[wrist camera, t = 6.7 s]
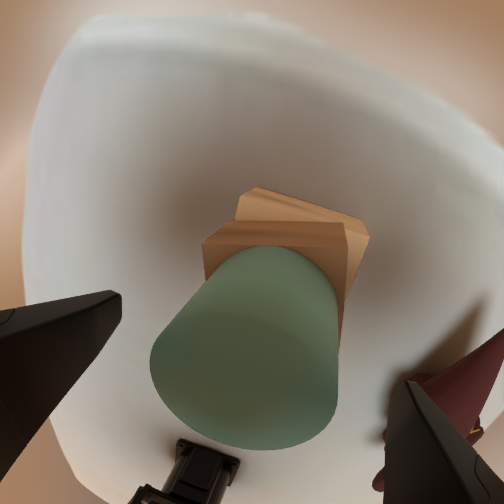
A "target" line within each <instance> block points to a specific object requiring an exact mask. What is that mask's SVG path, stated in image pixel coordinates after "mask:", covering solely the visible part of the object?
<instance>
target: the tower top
mask: <svg viewBox="0 0 504 504" xmlns="http://www.w3.org/2000/svg"><path fill="white" fill-rule="evenodd" d="M268 245H270V246H279V247H284V248H288V249H291V250H294V251H296V252H299V253H301V254H302V255H304V256H306V257H308V258H309V259H311V260H312V261H313V262H315V263H316V264H317V265H318V266H319V267H320V268H321V269H322V270H323V271H324V273H325V274H326V275H327V277H328V278H329V280H330V281H331V283H332V286H333V288H334V290H335V294H336V297H337V305H338V354H339V346H340V338H341V329H342V320H343V311H344V300H345V289H346V276H347V262H348V244H347V239H346V234H345V229H344V224H343V223H338V222H300V221H230V222H228V223H227V224H226V225H225V226H223V227H222V228H221V229H219V230H218V231H217V232H216V233H214V234H213V235H212V236H211V237H209V238H208V239H207V240H206V241H204V242H203V243H202V249H203V260H204V269H205V279H206V281H207V280H208V279H209V277H210V276H211V275H212V274H213V273H214V272H215V271H216V269H217V268H218V267H219V266H220V265H221V264H222V263H223V262H224V261H225V260H226V259H227V258H228V257H230V256H232V255H233V254H235V253H237V252H239V251H241V250H243V249H247V248H250V247H255V246H268Z"/></svg>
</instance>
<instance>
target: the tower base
mask: <svg viewBox="0 0 504 504" xmlns="http://www.w3.org/2000/svg"><path fill="white" fill-rule="evenodd" d="M234 221H300V222H338V223H343V224H344V229H345V234H346V239H347V244H348V262H347V276H346V289H345V299H346V297H347V295H348V292H349V290H350V287H351V285H352V283H353V280H354V278H355V275H356V273H357V270H358V268H359V265H360V263H361V260H362V258H363V255H364V253H365V250H366V247H367V245H368V242H369V239H370V236H369V234H368V231H367V229H366V227H365V225H364V223H363V221H362V220H360V219H357V218H354V217H351V216H348V215H345V214H342V213H339V212H336V211H333V210H330V209H327V208H324V207H321V206H317V205H314V204H311V203H308V202H305V201H302V200H298V199H295V198H292V197H289V196H285V195H282V194H279V193H275V192H272V191H268V190H265V189H262V188H258V187H255V188H253V189H251V190H249V191H248V192H246V193H244V194H243V195H241V196H240V198H239V202H238V206H237V210H236V215H235V219H234ZM344 302H345V300H344Z"/></svg>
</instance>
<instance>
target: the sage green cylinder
mask: <svg viewBox="0 0 504 504" xmlns="http://www.w3.org/2000/svg"><path fill="white" fill-rule="evenodd" d="M150 372H151V376H152V380H153V383H154V386H155V388H156V390H157V392H158V394H159V396H160V397H161V399H162V400H163V402H164V403H165V404H166V405H167V407H168V408H169V409H170V410H171V411H172V412H173V413H174V414H175V415H176V416H177V417H178V418H179V419H180V420H181V421H183V422H184V423H185V424H186V425H188V426H189V427H191V428H192V429H194V430H195V431H197V432H199V433H200V434H202V435H204V436H206V437H208V438H210V439H212V440H215V441H217V442H220V443H223V444H226V445H229V446H233V447H238V448H242V449H250V450H277V449H284V448H288V447H293V446H296V445H298V444H301V443H304V442H306V441H308V440H310V439H311V438H313V437H314V436H316V435H317V434H319V433H320V432H321V431H322V430H323V429H324V428H325V427H326V426H327V425H328V423H329V422H330V421H331V419H332V417H333V415H334V413H335V409H336V406H337V398H338V305H337V297H336V294H335V290H334V288H333V286H332V283H331V281H330V280H329V278H328V277H327V275H326V274H325V273H324V271H323V270H322V269H321V268H320V267H319V266H318V265H317V264H316V263H315V262H313V261H312V260H311V259H309V258H308V257H306V256H304V255H302V254H301V253H299V252H296V251H294V250H291V249H288V248H284V247H279V246H270V245H268V246H255V247H250V248H247V249H243V250H241V251H239V252H237V253H235V254H233V255H232V256H230V257H228V258H227V259H226V260H225V261H224V262H223V263H222V264H221V265H220V266H219V267H218V268H217V269H216V271H215V272H214V273H213V274H212V275H211V276H210V277H209V279H208V280H207V281H206V282H205V283H204V284H203V285H202V287H201V288H200V289H199V290H198V291H197V292H196V294H195V295H194V296H193V297H192V298H191V299H190V300H189V302H188V303H187V304H186V305H185V306H184V307H183V309H182V310H181V311H180V312H179V313H178V314H177V315H176V317H175V318H174V319H173V320H172V321H171V322H170V324H169V325H168V326H167V327H166V328H165V329H164V331H163V332H162V333H161V334H160V335H159V337H158V338H157V339H156V341H155V343H154V345H153V348H152V351H151V355H150Z"/></svg>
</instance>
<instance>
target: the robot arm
mask: <svg viewBox="0 0 504 504" xmlns="http://www.w3.org/2000/svg"><path fill="white" fill-rule="evenodd" d="M121 318H122V297H121V295H120V294H119V293H117V292H114V291H112V290H106V291H101V292H96V293H91V294H86V295H81V296H75V297H70V298H65V299H60V300H55V301H50V302H44V303H39V304H34V305H29V306H23V307H18V308H16V309H15V308H12V309H7V310H1V311H0V482H1V480H2V479H3V477H4V476H5V475H6V473H7V472H8V470H9V469H10V467H11V466H12V465H13V463H14V462H15V461H16V459H17V458H18V456H19V455H20V454H21V453H22V451H23V450H24V448H25V447H26V446H27V444H28V443H29V441H30V440H31V439H32V437H33V436H34V435H35V433H36V432H37V431H38V430H39V428H40V427H41V426H42V424H43V423H44V422H45V420H46V419H47V418H48V417H49V415H50V414H51V413H52V411H53V410H54V409H55V408H56V406H57V405H58V404H59V403H60V401H61V400H62V399H63V397H64V396H65V395H66V394H67V392H68V391H69V390H70V389H71V387H72V386H73V385H74V384H75V383H76V381H77V380H78V379H79V378H80V376H81V375H82V374H83V373H84V372H85V370H86V369H87V368H88V367H89V365H90V364H91V363H92V362H93V361H94V359H95V358H96V357H97V356H98V354H99V353H100V351H101V350H102V348H103V347H104V345H105V344H106V342H107V341H108V339H109V338H110V336H111V335H112V333H113V332H114V330H115V329H116V327H117V326H118V324H119V323H120V321H121ZM239 465H240V461H239V460H237V459H235V458H231V457H228V456H225V455H222V454H219V453H216V452H213V451H210V450H207V449H205V448H202V447H199V446H196V445H194V444H191V443H188V442H186V441H183V440H178V442H177V443H176V459H175V465H174V467H173V469H172V471H171V473H170V475H169V477H168V479H167V481H166V482H165V484H164V486H163V488H162V490H161V491H160V490H157V489H155V488H153V487H151V485H149V484H147V483H146V485H145V486H144V487H142V486H139V488H138V490H137V491H136V493H135V495H134V496H133V498H132V499H131V500H130V501H129V503H128V504H220V503H221V501H222V498H223V495H224V493H225V490H226V487H227V486H231V483H232V481H233V479H234V477H235V474H236V472H237V470H238V468H239ZM383 504H504V482H503V481H502V480H501V479H500V478H499V477H498V476H497V475H496V474H495V473H494V472H493V471H492V469H491V468H490V467H489V466H488V465H487V464H486V462H485V461H484V460H483V459H482V458H481V457H480V455H479V454H477V452H476V451H475V449H474V448H473V447H472V446H471V445H470V443H469V442H468V441H467V440H466V439H465V438H464V436H463V435H462V434H461V433H460V432H459V431H458V429H457V428H456V427H455V426H454V425H453V424H452V422H451V421H450V420H449V419H448V418H447V417H446V416H445V414H444V413H443V412H442V411H441V410H440V409H439V408H438V406H437V405H436V404H435V403H434V402H433V401H432V400H431V398H430V397H429V396H428V395H427V394H426V393H425V392H424V391H423V389H422V388H421V387H420V386H419V385H418V384H417V383H416V382H412V381H407V380H406V381H403V382H402V383H401V385H400V386H399V388H398V389H397V391H396V392H395V394H394V395H393V397H392V398H391V400H390V404H389V413H388V424H387V433H386V443H385V476H384V497H383Z"/></svg>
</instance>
